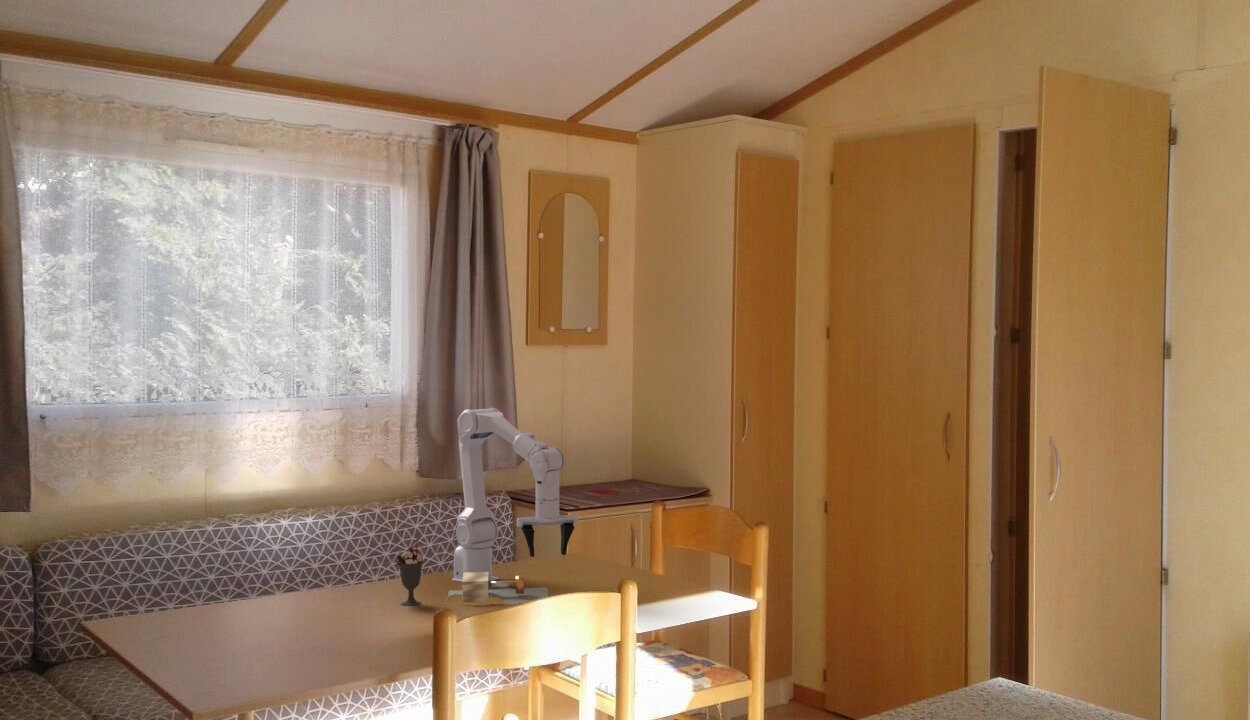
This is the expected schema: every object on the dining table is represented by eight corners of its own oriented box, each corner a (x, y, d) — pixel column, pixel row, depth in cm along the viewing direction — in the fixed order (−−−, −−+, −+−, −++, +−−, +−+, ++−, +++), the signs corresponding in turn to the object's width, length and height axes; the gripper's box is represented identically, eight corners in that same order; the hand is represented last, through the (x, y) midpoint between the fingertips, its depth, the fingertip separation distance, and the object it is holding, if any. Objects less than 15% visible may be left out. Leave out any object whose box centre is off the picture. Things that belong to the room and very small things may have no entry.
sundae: (428, 601, 267) (428, 538, 266) (420, 608, 260) (420, 543, 260) (401, 600, 267) (401, 537, 267) (393, 607, 261) (392, 543, 260)
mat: (446, 607, 261) (446, 606, 261) (449, 591, 277) (449, 590, 277) (549, 604, 263) (549, 603, 263) (547, 588, 279) (547, 587, 279)
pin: (481, 596, 267) (481, 578, 267) (482, 592, 272) (481, 574, 271) (524, 595, 268) (524, 577, 268) (523, 591, 273) (523, 573, 273)
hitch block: (462, 603, 264) (462, 581, 264) (463, 593, 274) (463, 572, 274) (488, 602, 265) (488, 581, 264) (488, 592, 275) (488, 571, 274)
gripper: (520, 502, 265) (520, 560, 265) (580, 500, 269) (580, 556, 269) (515, 498, 272) (515, 554, 272) (574, 495, 276) (574, 551, 276)
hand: (547, 555), depth 271 cm, fingers open, 7 cm apart
